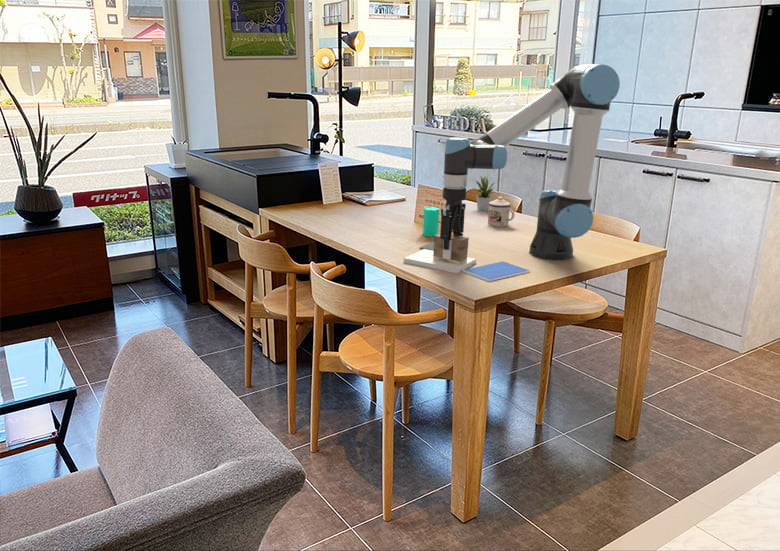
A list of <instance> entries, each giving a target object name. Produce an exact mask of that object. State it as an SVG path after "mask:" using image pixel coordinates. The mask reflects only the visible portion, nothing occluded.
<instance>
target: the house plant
mask: <svg viewBox="0 0 780 551" xmlns="http://www.w3.org/2000/svg"><path fill="white" fill-rule="evenodd" d="M479 177H480V182H481V183H480V182H479V181H477V180H476V179H475V178H474V179H472V181H473V182H475V183H476V184H477V185H478V188H475V187H473V186H472V189H471V191H473V190H475V191H476V193H477V194H478V195H476V206H477V210H478V209H479V210H478V211H481V210H488V211H489V202H491V201H492V196H491V194H493V193H494V191H493V190H494V188H495V189H496V187H492V186H493V185H494V184H495V183H496V180H494V181H493V182H492V183H491V185H490V186H489V175H488V176H487V177H486V176H485V175H484V177H482V176H481V175H479ZM488 187H489V188H488Z"/></svg>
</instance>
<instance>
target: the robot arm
mask: <svg viewBox="0 0 780 551" xmlns="http://www.w3.org/2000/svg"><path fill="white" fill-rule="evenodd" d="M620 82H621V80H620V77H619V75H618V73H617V71H616V70H615V69H614V68H613V67H611V66H610V65H608V64H603V63H582V64H578V65H576V66H574V67H572V68H571V69H569V70H568V71H567V72H565V73H564V74H563V75H562V76H560V77H559V78H557V79H556V80H555V81H554V82H552V83H550V85H549V88H548V89H547V90H546V91H545V92H543V93H542V94H540V95H539V96H537V97H536V98H534V99H533V100H531V101H530V102H529V103H527V104H526V105H524V106H522V108H520V109H519V110H517V111H516V112H515V113H513V114H512V115H510V116H508V118H506V119H504V120H503V121H502V122H500V123H499V124H497V125H496V126H495V127H493V128H492V129H490V130H489V131H487V132H486V133H484V134H483V135H481V136H480V137H479V138H475V139H472V140H470V138H467V137H458V136H457V137H456V136H455V137H448V138H447V139H446V141H445V148H444V160H443V161H444V162H443V163H444V166H443V175H442V178H443V187H442V199H443V200H445V201H446V203H445V206H444V208H440V215H441V216H440V218H441V220H440V230H439V231H440V232H439V234H440V238H441V239H444V242H443V258H444V259H449V260H450V259H451V250H452V240H451V235H457V236H463V237H464V232H465V230H464V229H465V228H464V227H465V210H466V206H467V205H466V203H464V202H463V201H465V200H466V199H467V188H466V187H468V174H469V173H468V171H469V169H470V170H472V169H473V170H474V169H475V170H502V169H504V168H506V166H507V160H508V150H507V147H508V146H509V145H511V144H512V143H513V142H515V141H517V140H518V139H519V138H521V137H522V136H524V135H526V134H527V133H528V132H530V131H531V130H532V129H534V128H535V127H537V126H538V125H539V124H542V123H543V122H544V121H545V120H547V119H549V118H550V117H551V116H554V114H555V113H557V112H559V111H560V110H561V109H563V110H567V109H569V108H571V110H572V111H573V113H574V115H573V121H572V128H571V131H570V136H569V137H570V138H569V143H568V144H569V145H568V149H567V155H566V160H565V161H566V162H565V167H564V171H563V172H564V173H563V178H562V184H561V188H559V189H544V190H541V192H540V195H539V200H538V201H539V203H538V204H539V205H538V214H537V225H536V232H535V234H534V236H533V239H532V241H531V242H530V243H531V244H530V245H529V254H531V255H532V256H533V257H534V256H535V257H537V258H541V259H546V260H568V259H570V258H572V257H573V256H574V247H573V242H572V239H575V238H580V237H582V236H584V235H585V234H587V233H588V232H589V231H590V230H591V228H592V227H593V223H594V214H593V211H592V210H591V206H592V202H593V201H592V200H593V196H592V195H591V194H590V184H591V181H592V180H591V179H592V175H593V170H594V164H595V158H596V154H597V148H598V143H599V139H600V138H599V137H600V133H601V132H600V131H601V127H602V121H603V118H604V116H605V115H606V114H607V113H608V112H610V107H611V101H613V100H614V99H615V98H616V97H617V95H618V93H619V91H620V86H621V83H620Z"/></svg>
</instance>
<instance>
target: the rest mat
mask: <svg viewBox="0 0 780 551" xmlns="http://www.w3.org/2000/svg"><path fill="white" fill-rule="evenodd" d="M419 249H420V250H423V249H427V250H432V251H434V241H430V242H429V243H427V244H424V245H422V246H420V247H419Z"/></svg>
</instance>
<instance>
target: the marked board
mask: <svg viewBox="0 0 780 551" xmlns="http://www.w3.org/2000/svg"><path fill="white" fill-rule="evenodd" d="M433 253H434V251H432V250H427V249H420V250H419V251H417V252H415V253H412V254H410V255H407V256H405V257H403V263H404V264H405V263H406V264H410V265H415V266H420V267H425V268H429V269H430V268H431V269H433V270H438V271H445V272H448V273H454V274H459V273H461V272H463V270H464V269H469V267H470V268H471V266H473V265H475V264H476V263H477V258H473V257H468V256H467V261H466V262H464V263H462V264H456V263H451V262H446V261H441V260H436V259H433Z"/></svg>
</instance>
